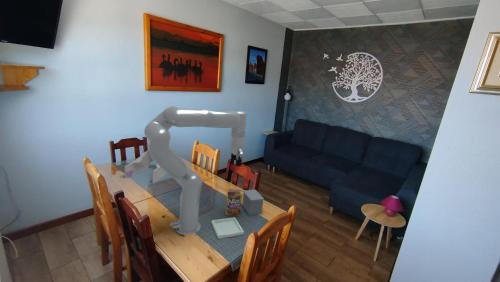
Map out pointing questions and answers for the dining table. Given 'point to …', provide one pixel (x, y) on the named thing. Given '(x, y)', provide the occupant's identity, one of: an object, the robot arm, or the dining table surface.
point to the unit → (252, 202)
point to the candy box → (234, 202)
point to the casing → (144, 167)
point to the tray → (227, 228)
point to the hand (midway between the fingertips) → (235, 163)
